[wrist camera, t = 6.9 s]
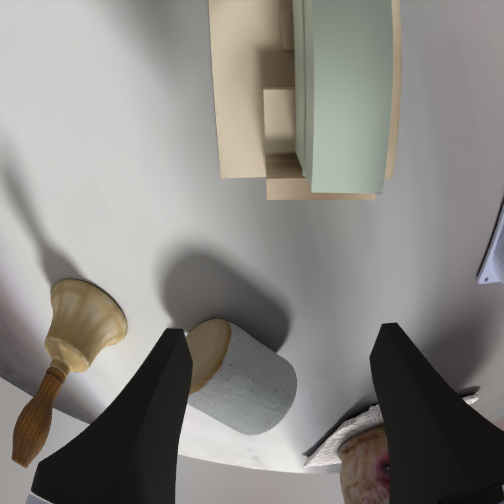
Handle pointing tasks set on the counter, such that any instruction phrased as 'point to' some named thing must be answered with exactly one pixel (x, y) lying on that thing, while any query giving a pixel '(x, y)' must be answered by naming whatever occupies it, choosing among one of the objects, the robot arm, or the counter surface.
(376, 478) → the cookie jar
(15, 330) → the counter surface
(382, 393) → the robot arm
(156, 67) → the counter surface
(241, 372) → the ceramic mug
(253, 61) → the display stand
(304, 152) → the glasses case
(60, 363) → the hand bell
